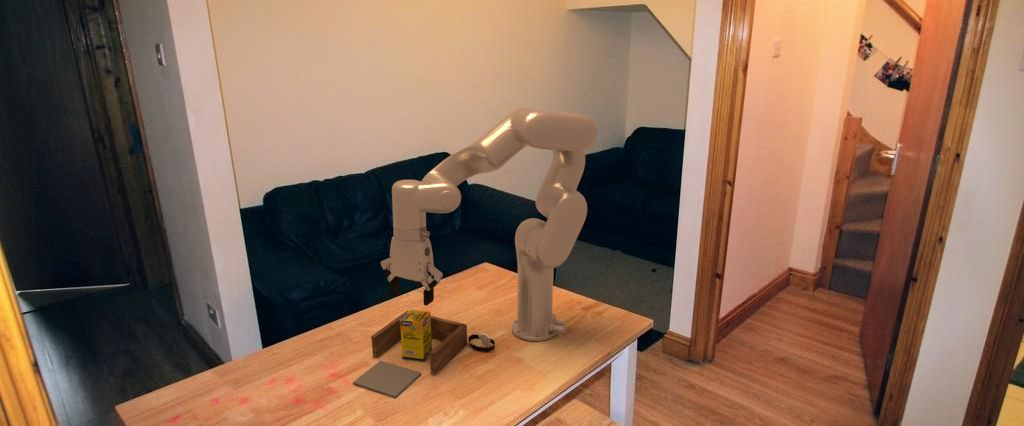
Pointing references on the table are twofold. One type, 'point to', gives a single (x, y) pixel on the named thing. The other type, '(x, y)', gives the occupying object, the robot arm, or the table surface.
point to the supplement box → (416, 335)
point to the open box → (441, 330)
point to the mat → (387, 379)
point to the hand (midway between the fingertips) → (411, 299)
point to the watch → (484, 339)
